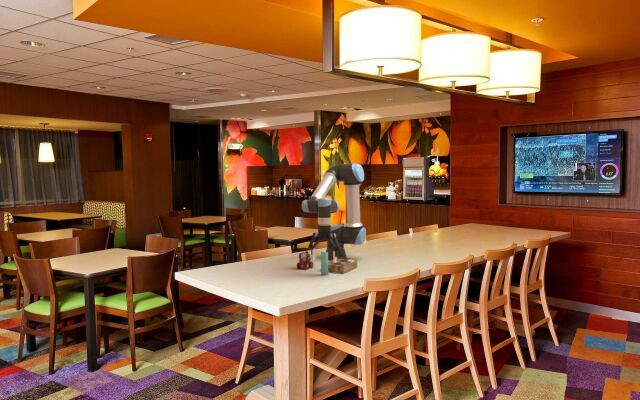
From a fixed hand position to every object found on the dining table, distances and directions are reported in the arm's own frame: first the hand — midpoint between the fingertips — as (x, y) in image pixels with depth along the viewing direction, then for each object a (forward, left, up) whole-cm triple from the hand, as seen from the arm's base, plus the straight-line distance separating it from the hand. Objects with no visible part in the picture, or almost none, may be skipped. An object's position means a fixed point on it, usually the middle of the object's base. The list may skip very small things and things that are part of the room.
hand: (324, 261), depth 277 cm
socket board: (+2, +17, -8) cm, 19 cm away
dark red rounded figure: (-19, +11, -8) cm, 24 cm away
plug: (0, 0, -8) cm, 8 cm away
